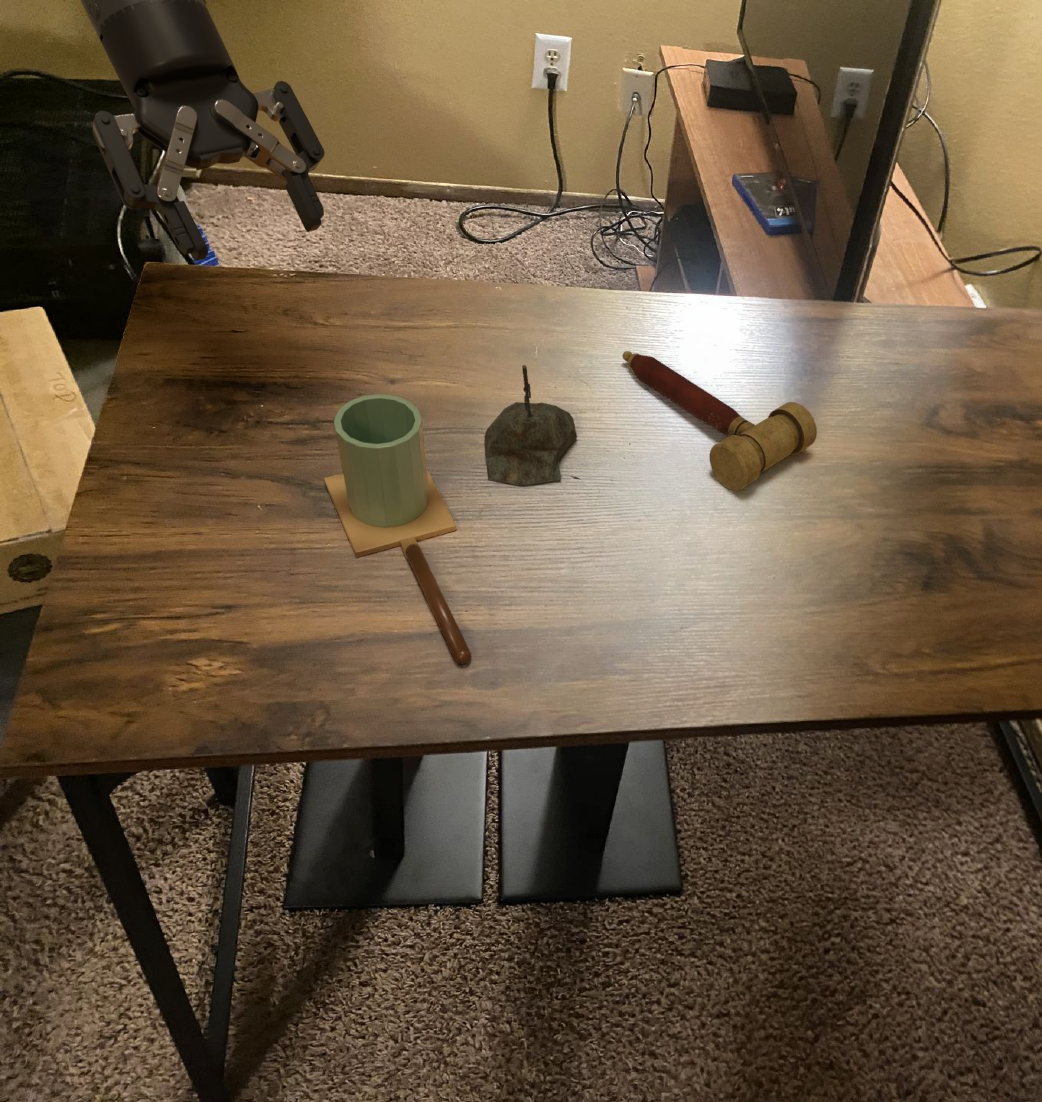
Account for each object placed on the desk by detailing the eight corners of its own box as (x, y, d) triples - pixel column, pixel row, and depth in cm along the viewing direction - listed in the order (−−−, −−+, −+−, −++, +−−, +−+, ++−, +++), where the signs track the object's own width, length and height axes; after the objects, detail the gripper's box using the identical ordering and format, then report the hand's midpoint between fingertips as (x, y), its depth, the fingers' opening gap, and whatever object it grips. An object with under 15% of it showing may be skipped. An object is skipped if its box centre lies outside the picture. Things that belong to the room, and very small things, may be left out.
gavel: (586, 351, 94) (661, 317, 100) (585, 391, 97) (659, 356, 103) (748, 460, 85) (821, 415, 91) (742, 500, 88) (813, 454, 94)
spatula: (324, 482, 82) (322, 472, 81) (420, 460, 85) (419, 449, 84) (410, 685, 70) (409, 675, 69) (518, 649, 74) (518, 639, 73)
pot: (339, 523, 78) (324, 442, 72) (359, 470, 83) (346, 389, 76) (419, 531, 79) (411, 452, 73) (435, 478, 83) (428, 399, 77)
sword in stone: (498, 405, 92) (495, 294, 83) (582, 420, 92) (589, 310, 84) (469, 478, 85) (464, 364, 76) (561, 493, 85) (566, 382, 77)
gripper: (242, 32, 77) (336, 234, 80) (40, 58, 69) (154, 282, 73) (262, -18, 71) (363, 203, 74) (42, 5, 63) (167, 252, 67)
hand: (259, 242), depth 74 cm, fingers open, 8 cm apart
